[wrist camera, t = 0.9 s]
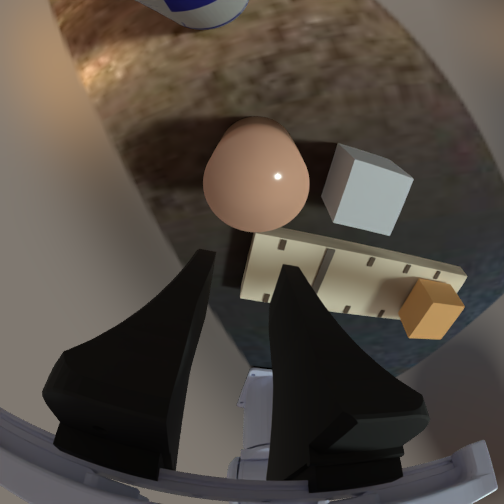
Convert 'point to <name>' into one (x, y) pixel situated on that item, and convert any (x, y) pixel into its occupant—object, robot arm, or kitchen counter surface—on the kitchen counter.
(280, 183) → the tan rounded cylinder
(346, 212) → the grey block
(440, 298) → the tan square block
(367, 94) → the kitchen counter surface
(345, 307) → the counting board
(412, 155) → the kitchen counter surface
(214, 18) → the beverage can
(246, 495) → the robot arm
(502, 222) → the kitchen counter surface
